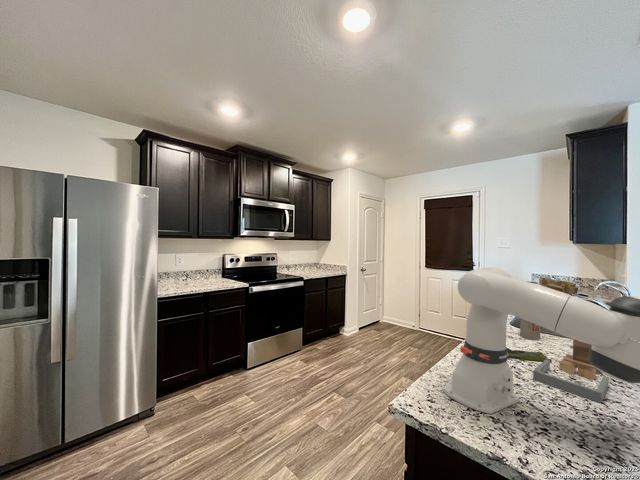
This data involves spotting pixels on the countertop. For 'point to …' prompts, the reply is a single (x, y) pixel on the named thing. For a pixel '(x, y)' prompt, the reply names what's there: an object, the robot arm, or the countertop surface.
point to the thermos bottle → (529, 329)
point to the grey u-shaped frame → (570, 383)
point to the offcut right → (586, 372)
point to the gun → (527, 355)
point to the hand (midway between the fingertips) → (625, 355)
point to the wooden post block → (580, 355)
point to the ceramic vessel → (559, 285)
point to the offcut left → (567, 366)
